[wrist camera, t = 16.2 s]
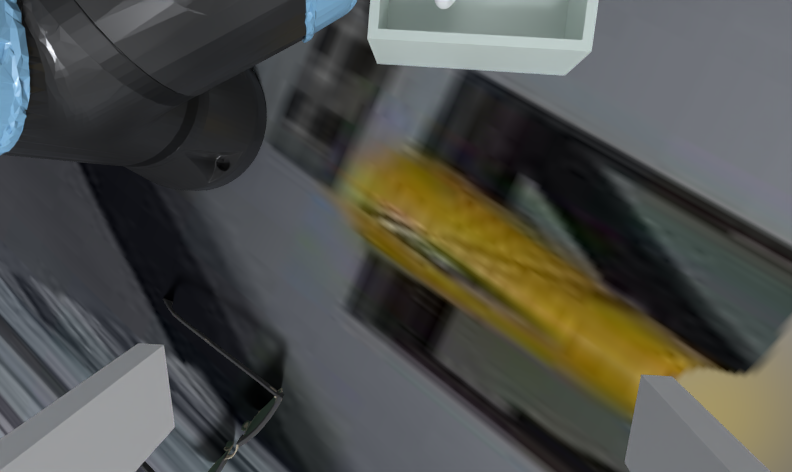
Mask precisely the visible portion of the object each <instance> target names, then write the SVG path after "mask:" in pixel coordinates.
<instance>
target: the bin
mask: <svg viewBox="0 0 792 472" xmlns="http://www.w3.org/2000/svg"><path fill="white" fill-rule="evenodd" d="M598 1H599V0H455V2H454V3H453V4H452V5H451V6H450V7H449V8H447V9H440V8H439V7H438V6H437V5H436V3H435V0H370V11H369V24H368V37H367V39H368V41H369V44H370V46H371V49H372V51H373V54H374V56H375V59H376V62H377V64H390V65H406V66H422V67H438V68H454V69H470V70H485V71H501V72H517V73H533V74H549V75H566V74H567V73H568V72H569V71H570V70H572V69H573V68H574V67H575V66H576V65H577V64H578V63H579V62H580V61H581V60H583V59H584V58H585V57H586V56H587V55H588V54H589V53H590V52H591V51H592V44H593V37H594V30H595V22H596V15H597V8H598Z"/></svg>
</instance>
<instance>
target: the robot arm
mask: <svg viewBox="0 0 792 472" xmlns="http://www.w3.org/2000/svg"><path fill="white" fill-rule="evenodd" d="M356 2H357V0H0V155H10V156H21V157H31V158H42V159H52V160H63V161H74V162H84V163H95V164H105V165H116V166H124V167H126V168H128V169H130V170H132V171H133V172H135V173H137V174H139V175H141V176H143V177H144V178H146V179H148V180H150V181H152V182H154V183H156V184H159V185H161V186H164V187H168V188H172V189H177V190H194V191H201V190H210V189H214V188H218V187H221V186H223V185H225V184H227V183H229V182H231V181H233V180H234V179H236V178H237V177H238V176H240V175H241V174H242V173H243V172H244V171H245V170H246V169H247V168H248V167H249V166H250V164H251V163H252V162H253V160H254V159H255V157H256V155H257V153H258V151H259V149H260V147H261V144H262V141H263V138H264V134H265V128H266V105H265V99H264V95H263V92H262V89H261V86H260V84H259V81H258V79H257V78H256V76H255V74H254V72H253V71H252V69H251V67H253V66H255V65H256V64H258V63H260V62H262V61H264V60H266V59H268V58H269V57H271V56H273V55H275V54H277V53H279V52H281V51H282V50H284V49H286V48H288V47H290V46H292V45H294V44H296V43H297V42H299V41H301V40H302V41H303V42H304V43H305V42H307V41H309V40H311V39H312V37H313V35H314V33H316V32H317V31H319V30H321V29H322V28H324V27H326V26H327V25H329V24H331V23H332V22H334V21H336V20H337V19H339V18H341V17H342V16H344V15H345V14H347V13H348V12H349V11H350V10H351V9H352V8H353V7H354V5H355V4H356ZM174 427H175V424H174V417H173V409H172V402H171V394H170V387H169V380H168V372H167V365H166V357H165V350H164V345H158V344H142V343H138V344H137V345H135V346H134V347H132V348H131V349H130V350H128V351H127V352H125V353H124V354H122V355H121V356H120V357H118V358H117V359H115V360H114V361H112V362H111V363H109V364H108V365H107V366H105V367H104V368H102V369H101V370H99V371H98V372H96V373H95V374H94V375H92V376H91V377H89V378H88V379H86V380H85V381H83V382H82V383H81V384H79V385H78V386H76V387H75V388H73V389H72V390H71V391H69V392H68V393H66V394H65V395H63V396H62V397H60V398H59V399H58V400H56V401H55V402H53V403H52V404H50V405H49V406H47V407H46V408H45V409H43V410H42V411H40V412H39V413H37V414H36V415H34V416H33V417H32V418H30V419H29V420H27V421H26V422H24V423H23V424H22V425H20V426H19V427H17V428H16V429H14V430H13V431H11V432H10V433H9V434H7V435H6V436H4V437H3V438H1V439H0V472H135V471H136V470H137V469H138V468H139V467H140V466H141V465H142V463H143V462H144V461H145V460H146V459H147V458H148V457H149V456H150V454H151V453H152V452H153V451H154V450H155V449H156V448H157V447H158V445H159V444H160V443H161V442H162V441H163V440H164V439H165V438H166V436H167V435H168V434H169V433H170V432H171V431H172V430H173V429H174ZM625 464H626V466H627V467H628V469H629V471H630V472H771V471H770V470H769V469H768V468H767V467H765V466H764V465H763V464H762V463H761V462H760V461H759V460H758V459H757V458H756V457H755V456H754V455H753V454H752V453H751V452H750V451H749V450H748V449H747V448H746V447H745V446H744V445H743V444H742V443H741V442H740V441H738V440H737V439H736V438H735V437H734V436H733V435H732V434H731V433H730V432H729V431H728V430H727V429H726V428H725V427H724V426H723V425H722V424H721V423H720V422H719V421H718V420H717V419H716V418H715V417H713V416H712V415H711V414H710V413H709V412H708V411H707V410H706V409H705V408H704V407H703V406H702V405H701V404H700V403H699V402H698V401H697V400H696V399H695V398H694V397H693V396H692V395H691V394H690V393H688V391H687V390H685V389H684V388H683V387H682V386H681V385H680V384H679V383H678V382H677V381H676V380H675V379H674V378H673V377H671V376H655V375H641V379H640V384H639V390H638V395H637V400H636V405H635V410H634V416H633V421H632V426H631V431H630V437H629V442H628V447H627V452H626V457H625Z"/></svg>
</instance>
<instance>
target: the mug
mask: <svg viewBox="0 0 792 472" xmlns="http://www.w3.org/2000/svg"><path fill="white" fill-rule="evenodd" d="M454 2H455V0H435V3H436V5H437V6H438V7H439V8H440V9H447V8H449V7H450V6H451V5H452V4H453V3H454Z"/></svg>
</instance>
